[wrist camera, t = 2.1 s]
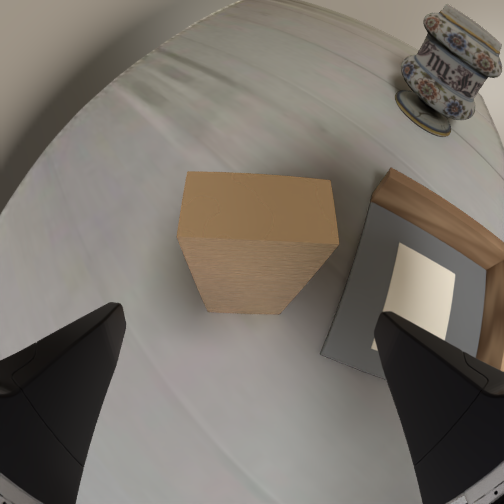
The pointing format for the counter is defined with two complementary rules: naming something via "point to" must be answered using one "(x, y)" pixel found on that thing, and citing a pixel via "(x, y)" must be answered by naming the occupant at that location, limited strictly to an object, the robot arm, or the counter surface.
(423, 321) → the mat
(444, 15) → the apothecary jar
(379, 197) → the corner walls
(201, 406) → the counter surface
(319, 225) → the wooden l-shaped block
